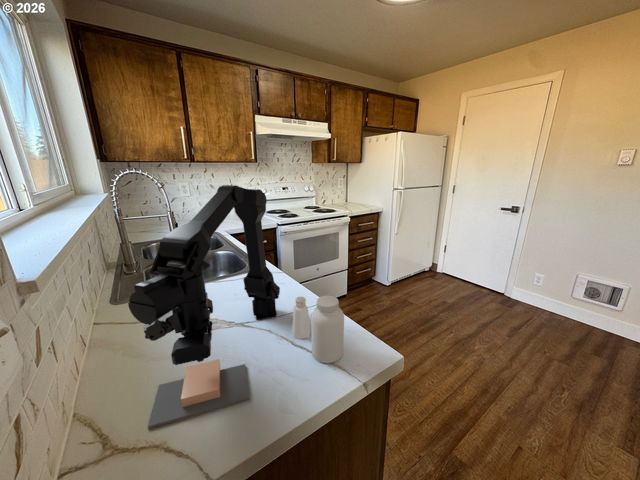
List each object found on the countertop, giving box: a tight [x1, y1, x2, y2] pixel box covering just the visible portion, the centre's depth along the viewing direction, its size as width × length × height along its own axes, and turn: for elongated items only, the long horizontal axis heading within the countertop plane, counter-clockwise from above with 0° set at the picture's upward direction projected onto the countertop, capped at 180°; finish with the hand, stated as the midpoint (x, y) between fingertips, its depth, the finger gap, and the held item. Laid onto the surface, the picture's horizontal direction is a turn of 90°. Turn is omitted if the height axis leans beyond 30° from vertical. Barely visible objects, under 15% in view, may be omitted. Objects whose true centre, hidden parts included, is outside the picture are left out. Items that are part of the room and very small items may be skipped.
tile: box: [181, 359, 221, 407], centre depth 57 cm, size 7×2×9 cm
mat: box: [147, 363, 250, 430], centre depth 56 cm, size 18×10×1 cm, turn 110°
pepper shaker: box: [291, 296, 312, 340], centre depth 74 cm, size 5×5×11 cm
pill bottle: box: [310, 295, 345, 364], centre depth 65 cm, size 8×8×15 cm
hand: (200, 360), depth 58 cm, fingers closed
